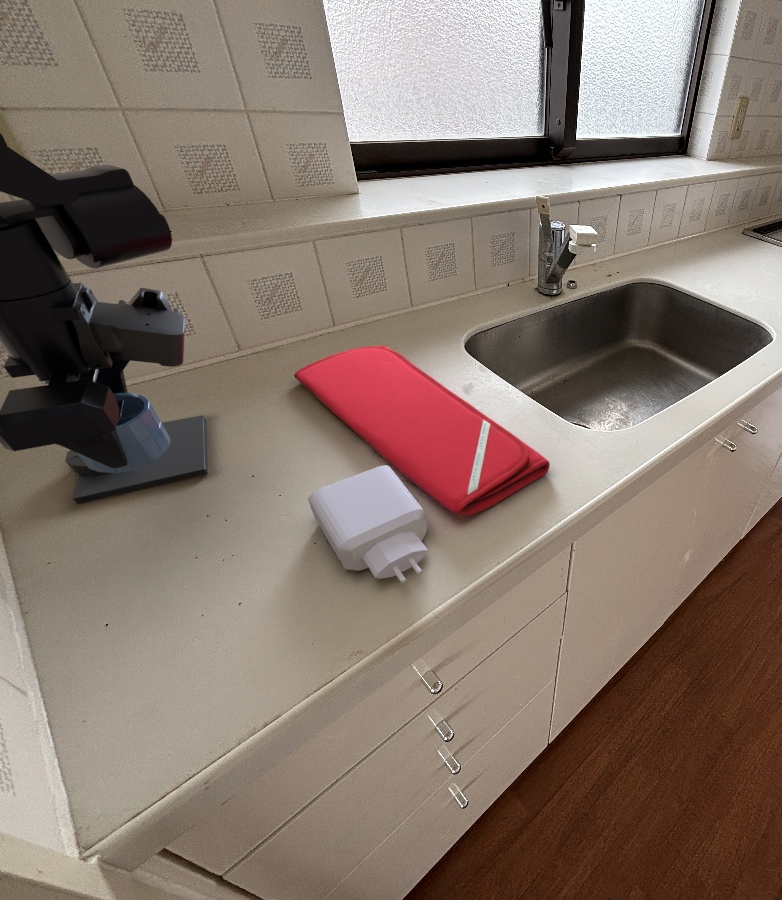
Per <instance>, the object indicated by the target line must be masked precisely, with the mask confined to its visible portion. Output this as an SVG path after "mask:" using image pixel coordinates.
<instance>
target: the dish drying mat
mask: <svg viewBox="0 0 782 900" xmlns="http://www.w3.org/2000/svg"><path fill="white" fill-rule="evenodd" d="M293 377H294V378H295V380H296V381H298V382H299V383H300V384H301V385H302V386H304V387H305V388H306V389H307V390H308V391H309V392H311V393H312V394H313V395H314V396H315V397H316V398H317V399H318V400H319V401H320V402H321V403H322V404H323V405H324V406H325V407H326V408H328V409H329V410H330V411H331V412H332V413H333V414H334V415H335V416H336V417H338V418H339V419H340V420H341V421H342V422H344V423H345V424H346V425H347V426H348V427H349V428H350V429H351V430H353V431H354V432H355V433H356V434H357V435H358V436H359V437H360V438H361V439H362V440H364V441H365V442H366V443H368V444H369V445H370V447H372V448H373V449H374V450H375V451H376V452H377V453H378V454H379V455H380V456H381V457H383V458H384V459H385V460H386V461H387V462H389V464H391V465H392V466H394V467H395V468H396V469H397V470H398V471H399V472H400V473H401V474H403V475H404V476H405V477H406V478H408V479H409V480H410V481H411V482H412V483H414V484H415V485H417V487H419V488H420V489H421V490H422V491H424V492H425V493H427V494H428V495H429V496H430V497H431V498H433V499H434V500H435V501H436V502H437V503H439V504H440V505H442V507H444V508H445V509H447V510H448V511H450V512H452V513H453V514H455V515H456V516H458V517H469V516H473V515H475V514H479V513H481V512H483V511H485V510H487V509H489V508H490V507H491V508H492V506H494V505H496V504H498V503H499V502H501V501H503V500H504V499H507V498H508V497H509V496H511V495H513V494H514V493H516V492H518V491H520V490H521V489H523V488H524V487H526V486H528V485H530V484H531V483H533V482H535V481H537V480H538V479H541V478H542V477H544V476H545V475H547V474H548V472H549V470H550V464H551V463H550V460H548V459H546V457H544V456H543V455H542V454H541V453H540V452H538V451H536V450H535V449H534V448H532V447H531V446H529V445H528V444H526V443H525V442H524V441H523V440H521V439H520V438H519V437H517V436H516V435H514V434H513V433H512V432H510V431H509V430H508V429H506V428H505V427H503V426H501V425H500V424H499V423H498V422H496V421H494V420H493V419H491V418H490V417H488V416H487V414H484V413H483V412H482V411H480V410H478V409H477V408H476V407H474V406H473V405H472V404H471V403H469V402H467V400H465V399H463V398H461V397H460V396H459V395H457V394H456V393H455V392H453V391H451V390H449V389H448V388H447V387H445V386H444V385H443V384H441V383H440V382H439V381H437V380H436V379H434V378H433V377H432V376H430V375H429V374H428V373H426V372H425V371H423V370H422V369H420V368H419V367H418V366H416V365H415V364H413V363H412V362H411V361H410V360H408V359H407V358H406V357H405V356H404V355H402V354H401V353H399V352H398V351H396V350H393V349H392V348H389V347H387V346H386V345H375V346H374V345H373V346H372V345H371V346H370V345H369V346H361V347H357V348H352V349H347V350H344V351H341V352H338V353H335V354H331V355H329V356H326V357H323V358H321V359H318V360H316V361H314V362H312V363H309V364H307V365H305V366H303V367H301V368H300V369H298V370H297V371H296V372H294V374H293Z"/></svg>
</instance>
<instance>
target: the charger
mask: <svg viewBox="0 0 782 900" xmlns="http://www.w3.org/2000/svg"><path fill="white" fill-rule="evenodd" d="M307 501H308V504H309V506H310V509H311V511H312V514H313V517H314V519H315V521H316V522H317V524H318V526H319V528H320V529H321V531H322V533H323V534H324V536H325V538H326V540H327V541H328V543H329V545H330V547H331V548H332V550H333V551H334V553H335V555H336V557H337V559H338V560H339V562H340V563H341V565H342V567H343V569H344V570H346V571H363V570H366V569H369V571H370V572H371V573H372V575H373V576H374V578H375V579H379V580H380V579H381V580H382V579H386V578H391V577H395V576H396V577H397V578H398V580H399V581H400V583H402V584H403V583H405V582H406V581H407V579H406V577H405V575H404V574H403V572H405V571H406V570H409V569H411V568H413V570H414V571H415V573H416V574H417V575H421V574H422V573H423V570H422V568H421V567H420V566H419V565H418V563H420V561H422V560H423V559H424V558H425V557H426V556H427V554H428V552H429V549H428V548H427V546H426V545H425V544H424V542H423V539H424V537H425V535H426V533H427V531H428V525H427V519H426V511H425V509H423V507H422V506H421V504H420V503H419V501H417V500H416V498H415V497H414V496H413V494H412V493H411V492H410V491H409V489H408V488H407V487H406V485H405V484H404V483H403V481H402V480H401V479H400V478H399V477H398V475H397V474H396V473H395V471H394V470H393V469H392V467H390V465H379V466H376V467H373V468H370V469H368V470H365V471H362V472H360V473H357V474H354V475H352V476H349V477H346V478H344V479H341V480H339V481H336V482H334V483H331V484H329V485H325V486H322V487H321V488H318V489H316V490H315V491H313V492H311V493H310V494H309V495H308V497H307Z"/></svg>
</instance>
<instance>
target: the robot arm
mask: <svg viewBox="0 0 782 900" xmlns="http://www.w3.org/2000/svg"><path fill="white" fill-rule="evenodd" d="M0 193H4V194H6V195H9V196H13V197H16V198H19V199H17V200H9V201H3V202H0V344H1V346H2V347H3V349H4V350H5V351H6V353H7V354H8V355H9V356H8V358H7V359H6V361H5V363H4V364H3V368H4V369H5V371H6V372H7V373H8V374H9V376H10V377H11V378H12V379H15V378H21V377H27V376H28V377H30V376H35V377H36V378H37V381H38V383H39V384H40V385H38V386H31V387H25V388H19V389H11V390H8V392H7V393H6V395H5V396H4V397H3V399H2V400H1V402H0V445H2V447H3V448H4V449H5V450H9V451H11V452H19V451H23V450H24V451H25V450H30V449H36V448H40V447H47V446H51V445H56V446H60V447H63V448H65V449H67V450H69V451H70V450H72V451H74V452H77V453H79V454H81V455H83V456H86V457H88V458H90V459H92V460H95V461H97V462H99V463H101V464H104V465H106V466H108V467H110V468H119V467H124V466H126V465H127V459H126V456H125V453H124V450H123V448H122V445H121V442H120V440H119V437H118V435H117V432H116V430H115V429H116V426H117V422H118V421H119V419H120V418H121V414H122V408H123V403H124V400H120V401H116V398H115V396H114V395H113V393H129V391H128V387H127V383H126V379H125V373H124V370H125V368H126V367H127V366H128V364H129V363H130V362H140V363H148V364H149V363H151V364H158V365H160V366H162V367H170V368H171V367H173V368H175V367H179V366H182V365H183V364H184V358H185V357H184V356H185V355H184V354H185V329H186V328H185V325H186V322H185V321H186V318H185V315H184V314H182V313H180V308H172V306H171V304H170V302H169V301H168V299H167V298H166V297H165V295H164V293H163V291H161V290H159V289H158V290H157V289H153V288H152V289H151V288H148V287H147V288H146V287H140V288H139V289H138V290H137V291H136V293H135V294H134V295H133V296H132V298H131V299H130V300H129V303H128V304H127V303H126V302H127V301H126V300H125V299H124V300H123V299H119V300H118V303H111V302H103V301H99V300H98V298H96V296H95V294H94V292H93V290H92V289H91V288H90V287H86V286H85V284H84V283H83V282H77V283H76V282H73V281H72V279H71V278H70V276H69V274H68V272H67V270H66V269H65V266H64V265H63V264H62V262H61V260H60V258H59V256H58V255H57V254H59V255H60V256H61V257H63V258H65V259H66V260H74V259H76V260H77V261H78V262H79V263H81V264H83V265H84V266H86V267H88V268H90V269H100V268H104V267H109V266H111V265H116V264H120V263H123V262H128V261H132V260H135V259H139V258H143V257H146V256H151V255H154V254H155V255H156V254H159V253H162V252H166V251H168V250H170V249H171V247H172V246H173V245H172V244H173V236H172V231H171V228H170V225H169V223H168V220H167V219H166V216H164V214H162V213H160V212H159V210H158V208H157V207H156V206H155V204H154V203H153V201H152V200H151V199H150V198H149V197H148V195H146V193H145V192H144V191H143V190H141V189H140V188H139V187H138V186H137V185H135V183H134V181H133V179H132V177H131V174H130V173H129V171H128V170H127V169H125V168H123V167H119V166H116V165H112V164H101V165H94V166H91V167H89V168H86V169H83V170H77V171H69V172H60V173H53V174H50V173H49V172H47V171H45V170H44V169H42V168H41V167H39V166H38V165H36V164H35V163H33V162H32V161H30V160H29V159H27V158H26V157H24V156H23V155H22V154H20V153H18V152H17V151H15V150H14V149H12V148H11V147H9V146H8V144H7V142H6V140H5V137H4V135H3V134H2V133H1V132H0Z"/></svg>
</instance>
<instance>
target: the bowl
mask: <svg viewBox="0 0 782 900" xmlns="http://www.w3.org/2000/svg"><path fill="white" fill-rule="evenodd" d="M113 395H114V396H115V398H116V401H120V400H124V403H123V408H122V414H121V418H120V419H119V421H118V422H117V426H116V429H115V430H116V432H117V435H118V437H119V440H120V442H121V445H122V448H123V450H124V453H125V456H126V459H127V465H126V466H124V467H119V468H110V467H108V466H106V465H104V464H101V463H99V462H97V461H95V460H92V459H90V458H88V457H86V456H83V455H81V454H79V453H77V454H78V455H79V456H80V458H81V459H82V460H83V462H84V463H85V464H86V466H87V467H88V468H89V469H92V470H95V471H98V472H106V473H124V472H129V471H134V470H137V469H140V468H143V467H145V466H147V465H149V464H151V463H153V462H155V461H156V460H158V459H159V458H160V457H161V456H162V455H163V454H164V453H165V451H166V450H167V449H168V447H169V445H170V436H169V435H168V433H167V431H166V429H165V428H164V426H163V424H162V423H163V422H162V421H161V419H160V417H159V415H158V413H157V412H156V410H155V409H154V406H153V405H152V403H151V401H150V400H149V399H148V398H147V397H146V396H145V395H142V394H138V393H135V392H128V393H113Z"/></svg>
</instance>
